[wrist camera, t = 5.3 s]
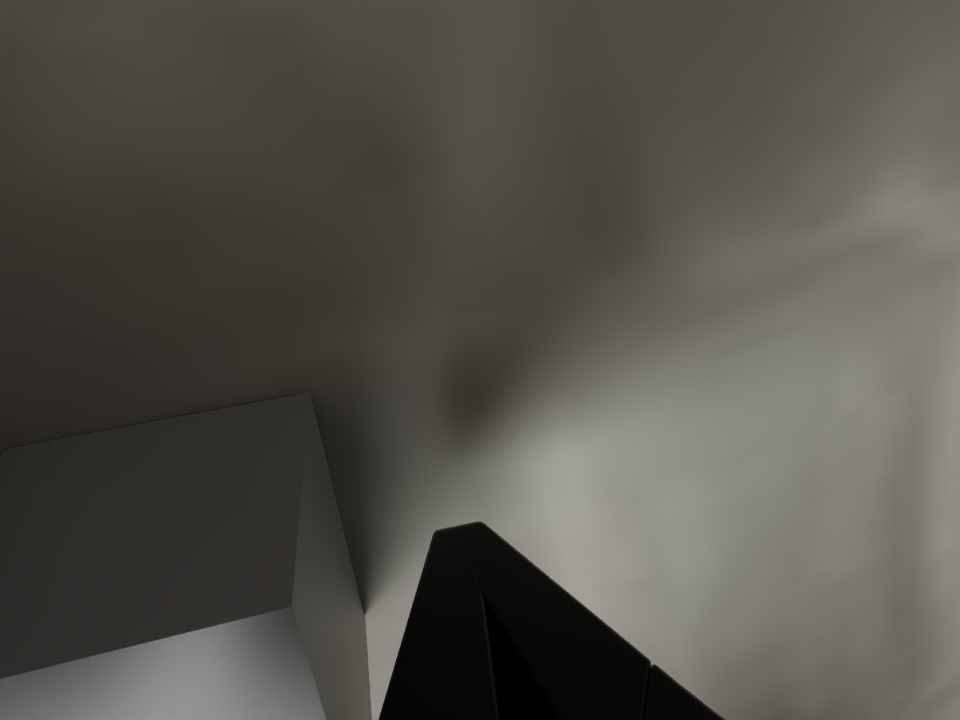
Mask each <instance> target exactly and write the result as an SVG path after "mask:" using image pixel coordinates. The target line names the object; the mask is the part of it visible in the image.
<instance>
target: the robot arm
mask: <svg viewBox="0 0 960 720" xmlns="http://www.w3.org/2000/svg"><path fill="white" fill-rule="evenodd" d="M379 720H725V719H724V718H722V717H721V716H720V715H718V714H717V713H716V712H714V711H713V710H712V709H711V708H709V707H708V706H707V705H705V704H704V703H703V702H702V701H700V700H699V699H698V698H696V697H695V696H694V695H693V694H691V693H690V692H689V691H688V690H686V689H685V688H684V687H682V686H681V685H680V684H679V683H677V682H676V681H675V680H674V679H673V678H671V677H670V676H669V675H668V674H667V673H665V672H664V671H663V670H662V669H660V668H659V667H658V666H657V665H652V666H651V661H650V660H649V659H648V658H647V657H646V656H644V655H643V654H642V653H641V652H640V651H638V650H637V649H636V648H635V647H634V646H632V645H631V644H630V643H629V642H627V641H626V640H625V639H624V638H623V637H621V636H620V635H619V634H618V633H617V632H615V631H614V630H613V629H612V628H610V627H609V626H608V625H607V624H606V623H604V622H603V621H602V620H601V619H600V618H598V617H597V616H596V615H595V614H594V613H592V612H591V611H590V610H589V609H587V608H586V607H585V606H584V605H583V604H581V603H580V602H579V601H578V600H577V599H575V598H574V597H573V596H572V595H571V594H569V593H568V592H567V591H566V590H564V589H563V588H562V587H561V586H560V585H558V584H557V583H556V582H555V581H554V580H552V579H551V578H550V577H549V576H548V575H546V574H545V573H544V572H543V571H541V570H540V569H539V568H538V567H537V566H535V565H534V564H533V563H532V562H531V561H529V560H528V559H527V558H526V557H524V556H523V555H522V554H521V553H520V552H518V551H517V550H516V549H515V548H514V547H512V546H511V545H510V544H509V543H508V542H506V541H505V540H504V539H503V538H501V537H500V536H499V535H498V534H497V533H495V532H494V531H493V530H492V529H491V528H489V527H488V526H487V525H486V524H484V523H483V522H473V523H468V524H464V525H459V526H454V527H449V528H444V529H440V530H436V531H435V532H434V534H433V536H432V540H431V543H430V547H429V550H428V553H427V557H426V560H425V564H424V567H423V570H422V574H421V577H420V581H419V584H418V587H417V591H416V594H415V598H414V601H413V604H412V608H411V611H410V615H409V618H408V621H407V625H406V628H405V632H404V635H403V639H402V642H401V645H400V649H399V652H398V656H397V659H396V662H395V666H394V669H393V673H392V676H391V679H390V683H389V686H388V690H387V693H386V696H385V700H384V703H383V707H382V710H381V713H380V717H379Z"/></svg>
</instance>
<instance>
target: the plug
mask: <svg viewBox="0 0 960 720" xmlns="http://www.w3.org/2000/svg"><path fill="white" fill-rule="evenodd" d="M0 720H372V716H371V700H370V685H369V670H368V654H367V639H366V624H365V615H364V611H363V607H362V603H361V599H360V595H359V591H358V587H357V583H356V579H355V574H354V570H353V566H352V562H351V558H350V554H349V550H348V546H347V542H346V538H345V534H344V529H343V525H342V521H341V517H340V513H339V509H338V505H337V501H336V497H335V493H334V488H333V484H332V480H331V476H330V472H329V468H328V464H327V460H326V456H325V452H324V448H323V443H322V439H321V435H320V431H319V427H318V423H317V419H316V415H315V411H314V407H313V403H312V398H311V394H310V392H306V393H301V394H296V395H290V396H285V397H280V398H274V399H269V400H264V401H258V402H253V403H248V404H242V405H237V406H232V407H226V408H221V409H216V410H210V411H205V412H200V413H194V414H189V415H184V416H178V417H173V418H168V419H162V420H157V421H152V422H146V423H141V424H136V425H131V426H125V427H120V428H115V429H109V430H104V431H99V432H93V433H88V434H83V435H77V436H72V437H67V438H61V439H56V440H51V441H45V442H40V443H35V444H29V445H24V446H19V447H13V448H8V449H7V450H6V451H5V452H4V453H3V454H2V455H1V456H0Z"/></svg>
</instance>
